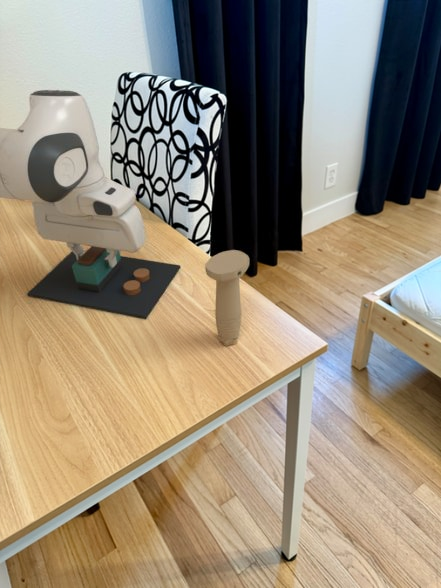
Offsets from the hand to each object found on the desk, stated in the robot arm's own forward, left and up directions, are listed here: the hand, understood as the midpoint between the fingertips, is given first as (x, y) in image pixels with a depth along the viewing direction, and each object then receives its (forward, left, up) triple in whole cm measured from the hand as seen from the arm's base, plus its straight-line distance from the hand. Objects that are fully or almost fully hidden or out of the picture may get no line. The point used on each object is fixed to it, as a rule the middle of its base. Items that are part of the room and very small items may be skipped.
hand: (97, 263), depth 80 cm
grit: (+8, +2, -3) cm, 9 cm away
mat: (+1, 0, -4) cm, 4 cm away
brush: (0, 0, -3) cm, 3 cm away
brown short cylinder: (+8, -2, -3) cm, 9 cm away
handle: (+28, -9, -4) cm, 30 cm away
